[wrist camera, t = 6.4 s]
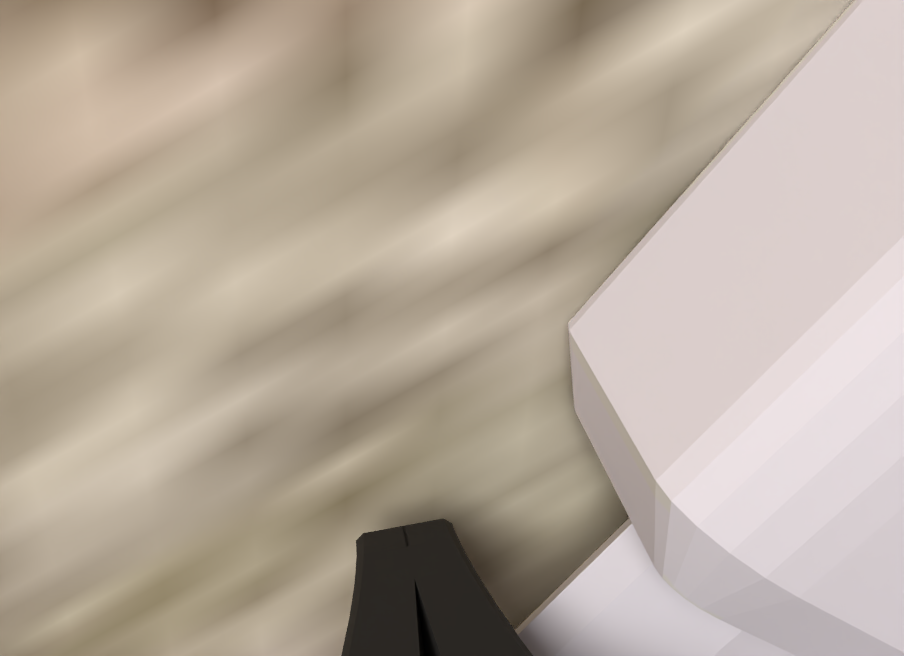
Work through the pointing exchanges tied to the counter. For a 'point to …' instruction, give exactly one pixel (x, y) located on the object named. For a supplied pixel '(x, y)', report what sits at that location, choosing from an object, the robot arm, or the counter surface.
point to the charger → (757, 386)
